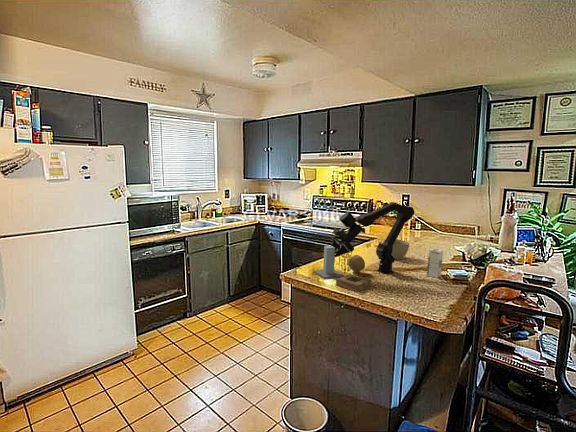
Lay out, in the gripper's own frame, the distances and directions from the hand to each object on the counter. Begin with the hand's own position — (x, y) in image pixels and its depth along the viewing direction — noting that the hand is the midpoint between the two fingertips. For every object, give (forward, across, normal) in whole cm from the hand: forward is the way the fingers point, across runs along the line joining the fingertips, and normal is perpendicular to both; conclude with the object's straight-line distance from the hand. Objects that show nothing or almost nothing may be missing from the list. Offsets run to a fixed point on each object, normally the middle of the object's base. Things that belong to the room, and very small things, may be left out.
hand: (331, 254), depth 174 cm
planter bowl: (-30, -26, +46) cm, 61 cm away
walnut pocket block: (+4, +18, +11) cm, 22 cm away
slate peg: (+8, 0, +6) cm, 10 cm away
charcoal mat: (+9, 0, +7) cm, 11 cm away
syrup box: (-30, +11, +47) cm, 57 cm away
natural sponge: (-2, -1, +18) cm, 19 cm away
